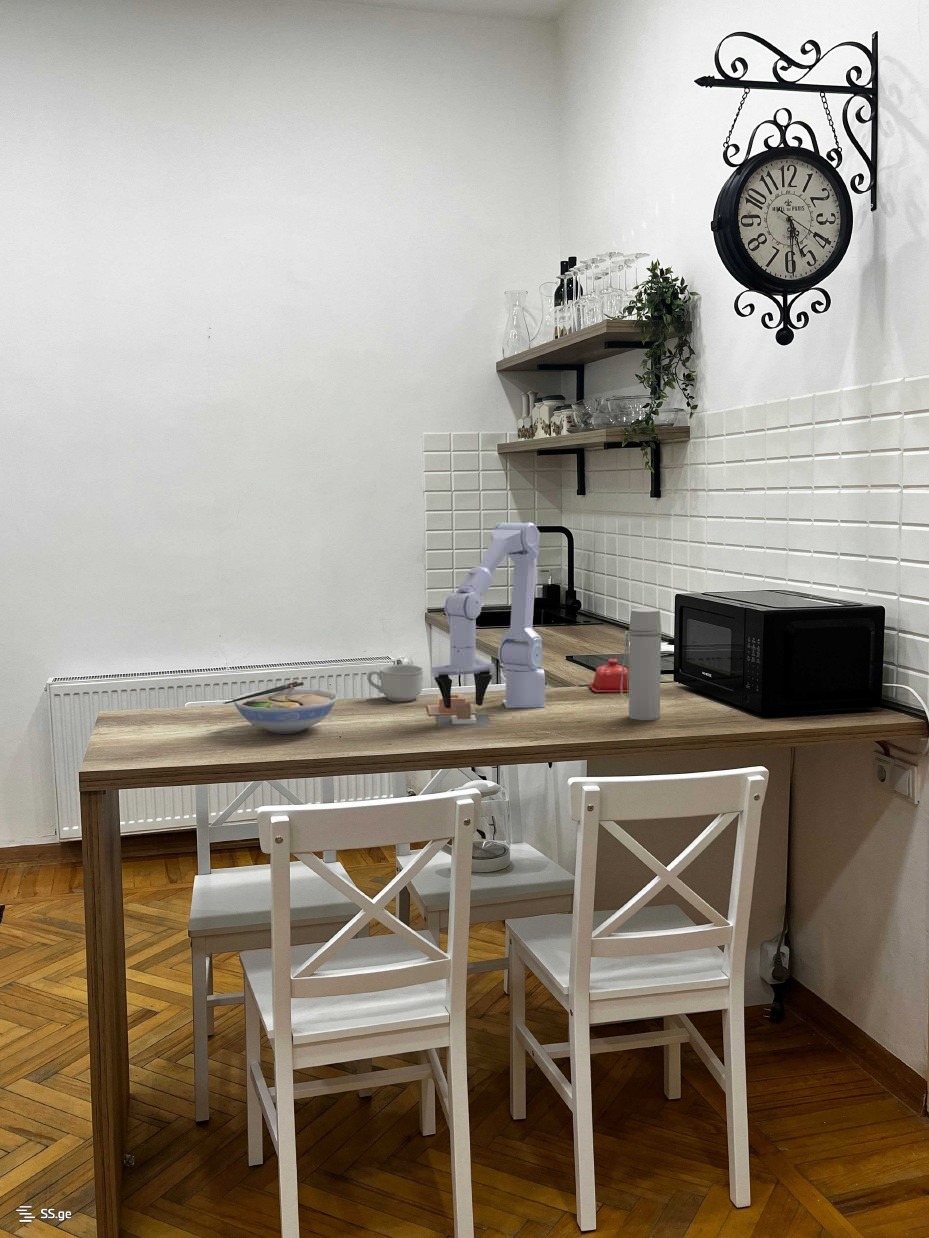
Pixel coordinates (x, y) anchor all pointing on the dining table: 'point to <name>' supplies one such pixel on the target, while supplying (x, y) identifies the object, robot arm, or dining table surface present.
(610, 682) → the butter dish
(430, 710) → the salmon stepped square block
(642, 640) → the water bottle
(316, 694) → the ramen bowl
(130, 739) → the dining table surface
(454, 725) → the mat
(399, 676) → the teacup
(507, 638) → the robot arm
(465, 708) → the lid
